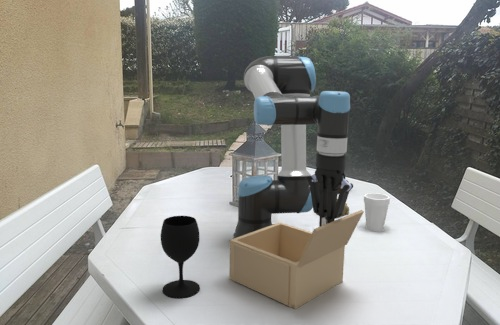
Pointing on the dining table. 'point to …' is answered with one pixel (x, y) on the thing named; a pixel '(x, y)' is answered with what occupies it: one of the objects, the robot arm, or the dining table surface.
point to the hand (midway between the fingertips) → (325, 240)
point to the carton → (283, 265)
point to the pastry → (345, 211)
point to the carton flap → (330, 237)
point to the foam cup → (376, 211)
